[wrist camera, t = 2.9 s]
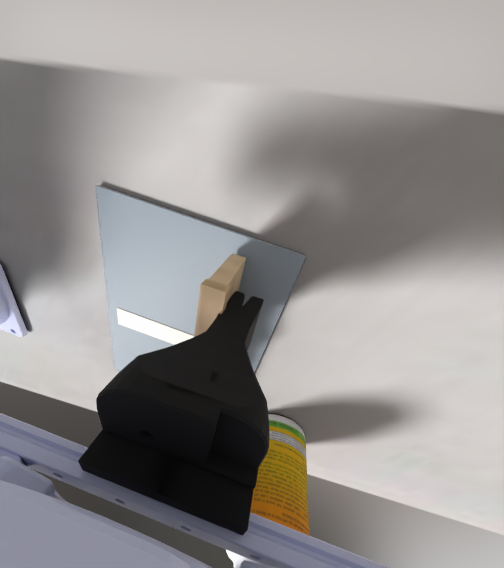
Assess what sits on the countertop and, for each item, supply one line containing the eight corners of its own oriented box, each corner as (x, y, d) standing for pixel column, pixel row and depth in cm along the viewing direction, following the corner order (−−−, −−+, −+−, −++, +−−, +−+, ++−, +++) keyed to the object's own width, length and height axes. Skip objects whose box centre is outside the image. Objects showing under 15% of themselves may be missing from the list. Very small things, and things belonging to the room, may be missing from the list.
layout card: (117, 366, 19) (113, 369, 18) (100, 185, 11) (94, 185, 11) (236, 411, 18) (234, 416, 18) (305, 255, 10) (306, 257, 10)
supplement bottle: (252, 404, 17) (210, 619, 9) (313, 423, 17) (332, 670, 8) (243, 435, 20) (203, 624, 11) (296, 452, 19) (296, 663, 11)
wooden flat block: (226, 346, 14) (204, 397, 10) (213, 341, 14) (187, 391, 11) (247, 258, 11) (226, 292, 7) (230, 252, 11) (200, 284, 7)
